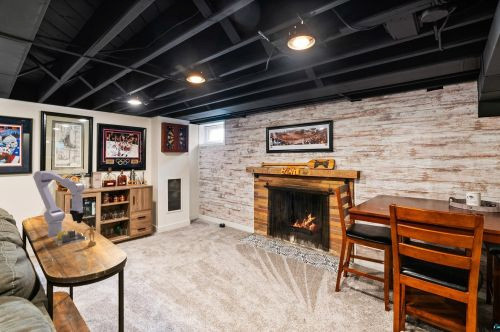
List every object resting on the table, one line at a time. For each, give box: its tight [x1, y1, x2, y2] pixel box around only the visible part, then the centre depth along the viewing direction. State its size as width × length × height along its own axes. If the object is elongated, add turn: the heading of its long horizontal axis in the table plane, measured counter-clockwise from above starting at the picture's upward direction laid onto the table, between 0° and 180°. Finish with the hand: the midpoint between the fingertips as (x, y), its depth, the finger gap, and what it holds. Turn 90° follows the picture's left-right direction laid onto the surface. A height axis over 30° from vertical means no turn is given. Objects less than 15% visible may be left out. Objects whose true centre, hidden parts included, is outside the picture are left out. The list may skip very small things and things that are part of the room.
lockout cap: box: [56, 230, 67, 240], centre depth 151 cm, size 4×4×4 cm
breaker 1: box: [61, 233, 70, 242], centre depth 146 cm, size 3×4×4 cm
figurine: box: [83, 226, 101, 247], centre depth 141 cm, size 8×6×12 cm
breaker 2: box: [67, 229, 76, 237], centre depth 154 cm, size 3×4×4 cm
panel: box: [52, 231, 90, 247], centre depth 150 cm, size 18×15×3 cm
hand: (77, 222), depth 157 cm, fingers open, 7 cm apart
